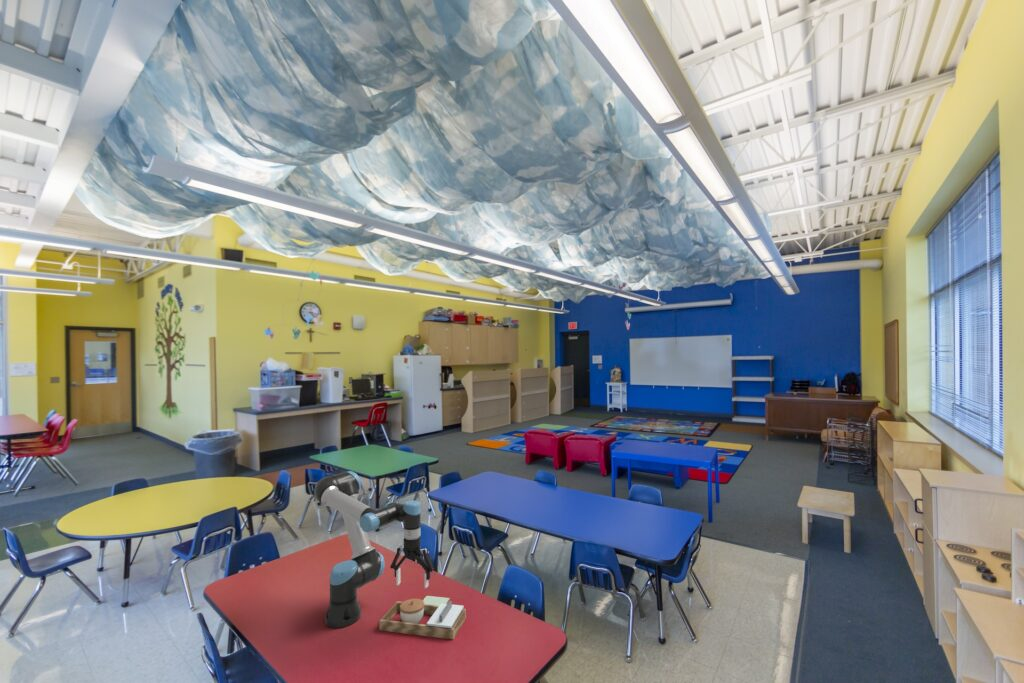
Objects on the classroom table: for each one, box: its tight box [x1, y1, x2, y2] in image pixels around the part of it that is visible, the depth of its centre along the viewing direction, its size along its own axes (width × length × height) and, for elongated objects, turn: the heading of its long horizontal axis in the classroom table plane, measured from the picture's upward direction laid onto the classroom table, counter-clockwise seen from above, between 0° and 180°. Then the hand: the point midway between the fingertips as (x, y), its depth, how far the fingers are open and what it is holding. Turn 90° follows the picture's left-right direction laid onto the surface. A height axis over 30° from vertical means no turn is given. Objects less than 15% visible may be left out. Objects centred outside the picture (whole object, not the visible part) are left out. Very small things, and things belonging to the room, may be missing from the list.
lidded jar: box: [399, 598, 425, 624], centre depth 194 cm, size 11×11×9 cm
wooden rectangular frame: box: [379, 600, 467, 640], centre depth 192 cm, size 34×16×4 cm, turn 78°
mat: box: [422, 595, 450, 606], centre depth 208 cm, size 12×12×1 cm
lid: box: [426, 600, 465, 628], centre depth 190 cm, size 11×16×3 cm
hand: (412, 585), depth 194 cm, fingers open, 13 cm apart
